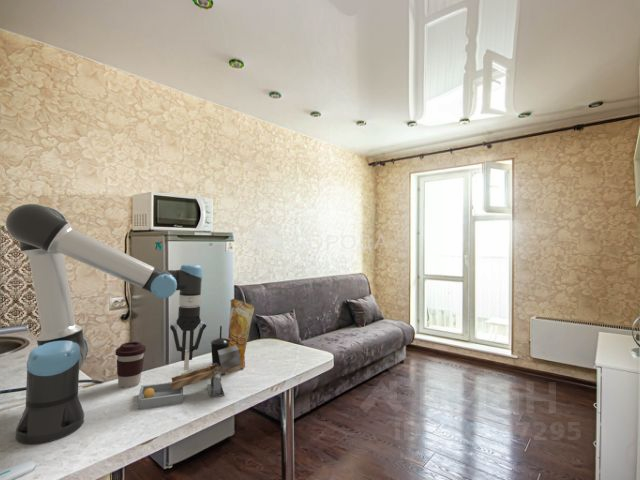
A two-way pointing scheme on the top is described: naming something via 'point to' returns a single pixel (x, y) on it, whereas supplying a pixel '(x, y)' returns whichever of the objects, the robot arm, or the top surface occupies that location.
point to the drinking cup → (218, 347)
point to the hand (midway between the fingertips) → (186, 368)
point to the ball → (149, 393)
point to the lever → (210, 368)
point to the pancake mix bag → (240, 326)
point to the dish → (160, 395)
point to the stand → (215, 384)
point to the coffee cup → (130, 363)
